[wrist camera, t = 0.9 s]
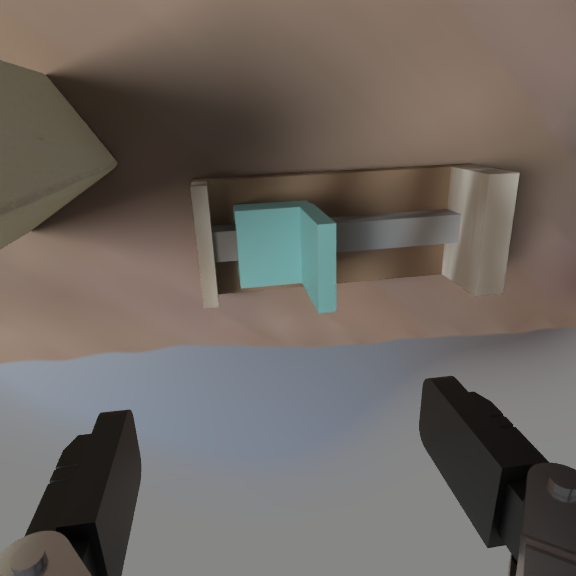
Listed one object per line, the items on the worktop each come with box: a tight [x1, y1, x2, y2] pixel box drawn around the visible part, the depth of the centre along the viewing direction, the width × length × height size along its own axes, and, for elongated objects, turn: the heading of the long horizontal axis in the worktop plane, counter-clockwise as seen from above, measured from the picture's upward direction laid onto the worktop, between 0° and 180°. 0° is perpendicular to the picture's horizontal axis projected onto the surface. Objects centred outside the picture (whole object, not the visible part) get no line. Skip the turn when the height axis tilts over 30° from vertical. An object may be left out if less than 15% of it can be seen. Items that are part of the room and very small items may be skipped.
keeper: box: [233, 200, 336, 313], centre depth 28 cm, size 5×5×8 cm
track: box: [190, 164, 520, 308], centre depth 31 cm, size 20×8×6 cm, turn 92°
